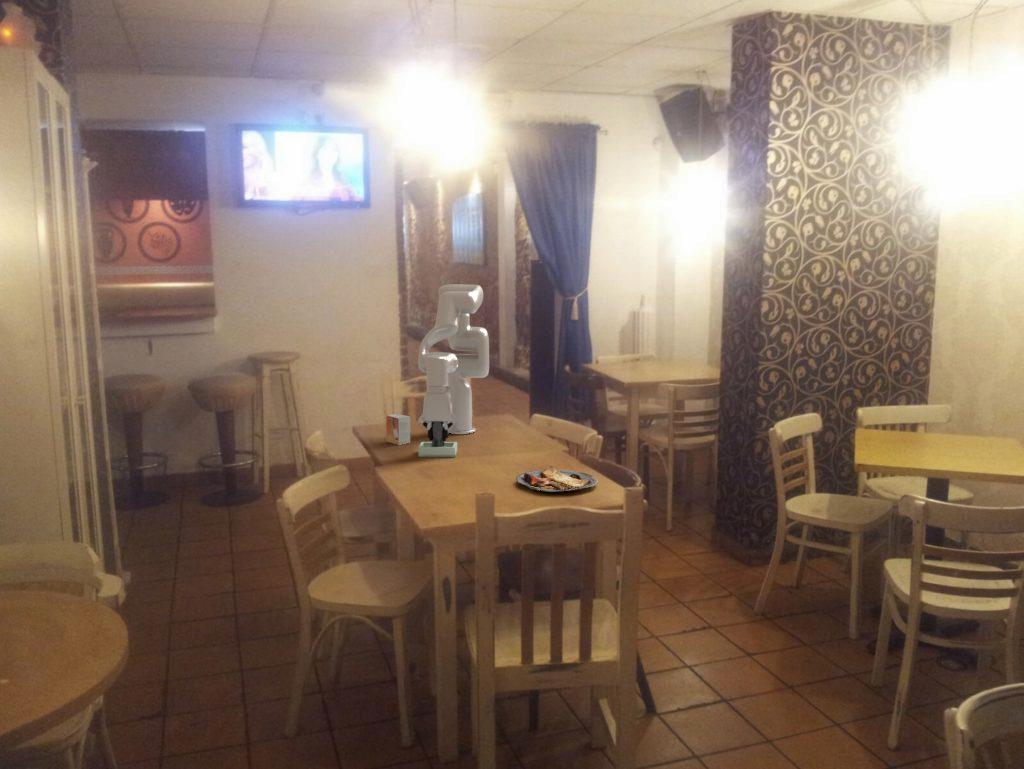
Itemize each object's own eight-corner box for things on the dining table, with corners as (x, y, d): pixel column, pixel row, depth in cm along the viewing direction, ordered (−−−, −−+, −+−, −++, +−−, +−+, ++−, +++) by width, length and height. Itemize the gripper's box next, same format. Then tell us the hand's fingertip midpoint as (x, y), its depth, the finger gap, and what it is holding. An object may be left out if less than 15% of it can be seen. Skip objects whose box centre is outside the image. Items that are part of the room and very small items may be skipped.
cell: (432, 446, 319) (432, 416, 317) (444, 446, 319) (444, 416, 317) (431, 448, 315) (430, 419, 313) (443, 449, 314) (443, 419, 313)
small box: (386, 442, 337) (385, 415, 335) (398, 440, 341) (397, 413, 339) (398, 445, 331) (398, 418, 330) (410, 443, 335) (410, 416, 334)
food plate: (502, 482, 279) (502, 471, 278) (558, 471, 293) (559, 461, 292) (553, 501, 259) (553, 490, 259) (610, 489, 273) (611, 478, 273)
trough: (421, 451, 322) (421, 441, 321) (457, 451, 321) (457, 442, 321) (418, 457, 313) (418, 447, 312) (455, 457, 313) (455, 447, 312)
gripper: (461, 388, 317) (462, 438, 320) (415, 388, 317) (415, 438, 320) (460, 391, 310) (460, 442, 313) (412, 391, 310) (413, 442, 313)
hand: (438, 439), depth 316 cm, fingers closed on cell, 4 cm apart
